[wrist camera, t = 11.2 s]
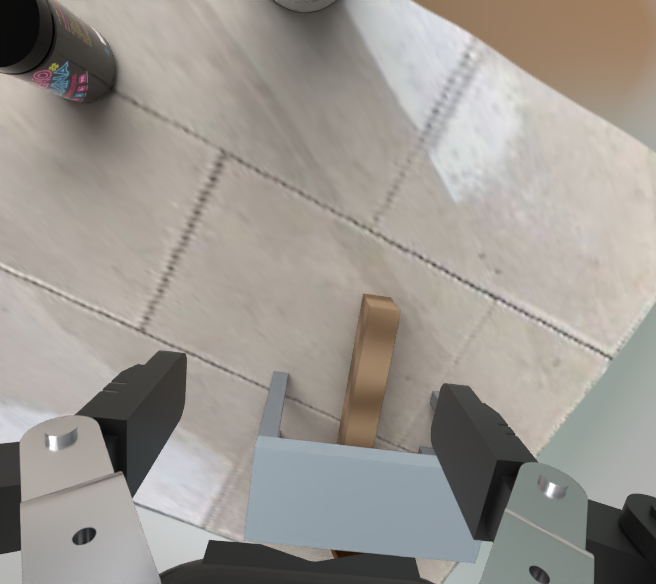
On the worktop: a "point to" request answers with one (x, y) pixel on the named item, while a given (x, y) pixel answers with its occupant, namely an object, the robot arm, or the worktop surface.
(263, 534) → the small grey table
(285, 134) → the worktop surface
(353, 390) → the batten
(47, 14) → the supplement container
